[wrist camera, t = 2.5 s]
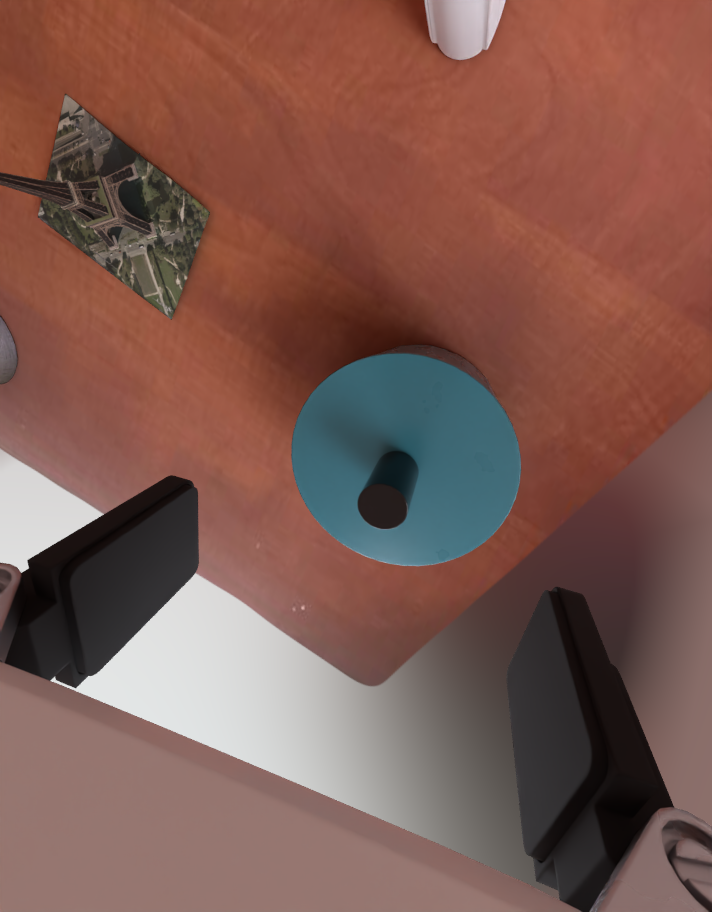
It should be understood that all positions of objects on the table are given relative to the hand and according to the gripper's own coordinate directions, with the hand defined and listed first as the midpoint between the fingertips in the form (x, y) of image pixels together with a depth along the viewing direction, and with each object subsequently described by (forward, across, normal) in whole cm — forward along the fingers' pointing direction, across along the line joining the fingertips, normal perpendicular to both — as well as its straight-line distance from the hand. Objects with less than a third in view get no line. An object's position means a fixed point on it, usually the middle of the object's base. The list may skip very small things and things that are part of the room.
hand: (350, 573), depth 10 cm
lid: (+16, 0, +4) cm, 16 cm away
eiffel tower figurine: (+24, +29, -9) cm, 39 cm away
